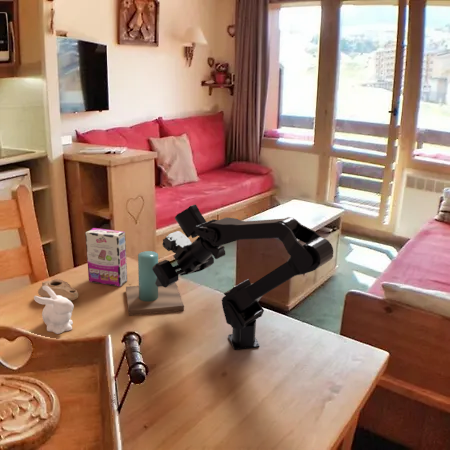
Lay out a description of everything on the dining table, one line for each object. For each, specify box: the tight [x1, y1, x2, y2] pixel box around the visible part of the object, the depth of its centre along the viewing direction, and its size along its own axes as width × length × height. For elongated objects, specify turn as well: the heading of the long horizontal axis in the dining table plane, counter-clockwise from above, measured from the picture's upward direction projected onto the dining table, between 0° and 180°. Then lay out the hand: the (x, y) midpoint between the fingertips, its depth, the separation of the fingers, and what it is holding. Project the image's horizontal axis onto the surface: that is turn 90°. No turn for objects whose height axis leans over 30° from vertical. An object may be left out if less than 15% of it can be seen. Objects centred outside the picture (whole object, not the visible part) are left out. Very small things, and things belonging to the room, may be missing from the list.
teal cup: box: [137, 250, 159, 302], centre depth 145 cm, size 6×6×13 cm
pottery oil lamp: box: [37, 278, 79, 301], centre depth 147 cm, size 9×12×7 cm
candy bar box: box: [84, 227, 128, 287], centre depth 157 cm, size 11×5×16 cm, turn 73°
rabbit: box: [33, 285, 75, 335], centre depth 132 cm, size 12×9×12 cm
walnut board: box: [125, 282, 185, 316], centre depth 148 cm, size 15×15×2 cm
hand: (168, 279), depth 140 cm, fingers open, 9 cm apart
